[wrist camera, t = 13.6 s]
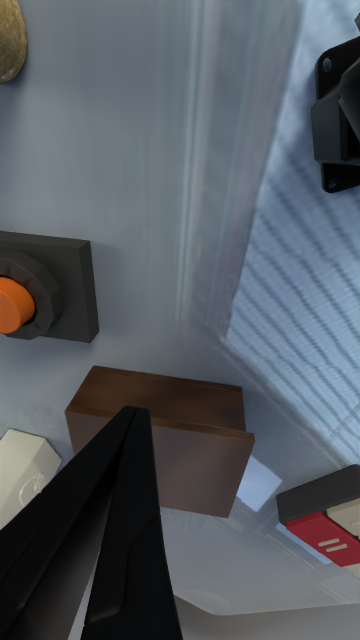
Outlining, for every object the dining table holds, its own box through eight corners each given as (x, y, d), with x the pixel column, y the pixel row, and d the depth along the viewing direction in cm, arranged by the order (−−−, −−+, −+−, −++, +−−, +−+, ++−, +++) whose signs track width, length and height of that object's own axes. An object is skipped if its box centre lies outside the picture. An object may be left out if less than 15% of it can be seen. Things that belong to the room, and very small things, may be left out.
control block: (90, 240, 20) (67, 254, 17) (99, 331, 24) (82, 355, 21) (-37, 226, 20) (-80, 237, 17) (-7, 316, 25) (-38, 338, 22)
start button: (29, 279, 18) (12, 290, 17) (39, 324, 20) (25, 337, 19) (-20, 273, 19) (-41, 283, 17) (-5, 318, 21) (-23, 330, 19)
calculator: (373, 499, 25) (460, 570, 28) (354, 457, 29) (433, 523, 32) (278, 529, 30) (361, 587, 33) (273, 490, 34) (348, 545, 37)
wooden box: (242, 386, 25) (246, 431, 21) (221, 463, 32) (222, 509, 27) (92, 365, 26) (68, 404, 22) (102, 443, 33) (85, 485, 28)
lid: (254, 433, 21) (255, 441, 20) (227, 510, 27) (228, 518, 27) (68, 404, 22) (64, 411, 21) (85, 485, 28) (82, 492, 28)
